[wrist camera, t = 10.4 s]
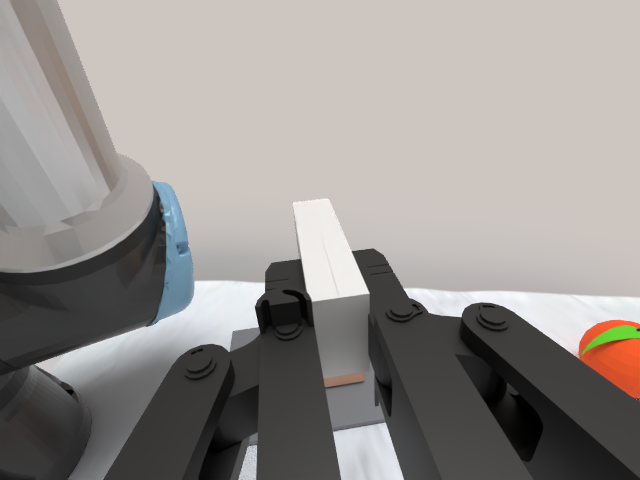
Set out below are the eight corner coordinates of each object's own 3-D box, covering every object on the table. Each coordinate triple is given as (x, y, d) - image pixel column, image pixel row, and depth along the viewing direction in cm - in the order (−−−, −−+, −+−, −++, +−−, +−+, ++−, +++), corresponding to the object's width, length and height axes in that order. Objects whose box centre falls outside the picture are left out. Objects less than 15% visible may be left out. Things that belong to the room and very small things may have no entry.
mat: (217, 451, 31) (216, 447, 30) (233, 334, 44) (232, 331, 44) (432, 413, 32) (432, 410, 32) (385, 311, 45) (385, 308, 45)
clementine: (596, 421, 30) (623, 364, 27) (544, 360, 37) (562, 308, 33) (682, 410, 31) (719, 353, 27) (616, 352, 37) (641, 300, 33)
